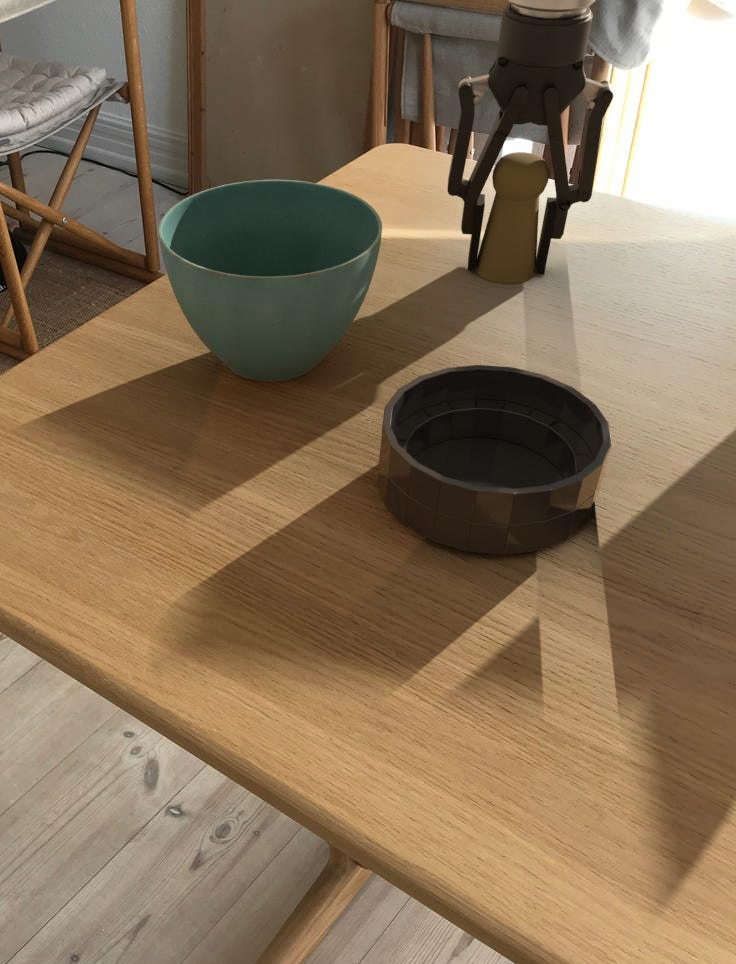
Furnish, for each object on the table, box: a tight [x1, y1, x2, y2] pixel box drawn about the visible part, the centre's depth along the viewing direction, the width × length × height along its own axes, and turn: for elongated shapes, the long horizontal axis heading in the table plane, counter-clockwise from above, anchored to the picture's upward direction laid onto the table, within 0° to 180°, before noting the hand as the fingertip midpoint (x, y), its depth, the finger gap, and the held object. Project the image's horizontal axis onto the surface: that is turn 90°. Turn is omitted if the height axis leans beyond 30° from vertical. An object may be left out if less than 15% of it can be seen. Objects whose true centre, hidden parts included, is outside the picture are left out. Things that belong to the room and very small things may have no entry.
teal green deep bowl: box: [158, 179, 383, 383], centre depth 89 cm, size 18×18×12 cm
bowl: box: [376, 364, 613, 556], centre depth 77 cm, size 16×16×6 cm
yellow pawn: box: [475, 151, 550, 285], centre depth 101 cm, size 6×6×11 cm
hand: (505, 265), depth 104 cm, fingers closed on yellow pawn, 6 cm apart
